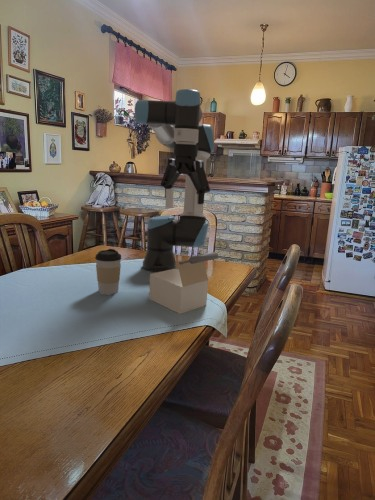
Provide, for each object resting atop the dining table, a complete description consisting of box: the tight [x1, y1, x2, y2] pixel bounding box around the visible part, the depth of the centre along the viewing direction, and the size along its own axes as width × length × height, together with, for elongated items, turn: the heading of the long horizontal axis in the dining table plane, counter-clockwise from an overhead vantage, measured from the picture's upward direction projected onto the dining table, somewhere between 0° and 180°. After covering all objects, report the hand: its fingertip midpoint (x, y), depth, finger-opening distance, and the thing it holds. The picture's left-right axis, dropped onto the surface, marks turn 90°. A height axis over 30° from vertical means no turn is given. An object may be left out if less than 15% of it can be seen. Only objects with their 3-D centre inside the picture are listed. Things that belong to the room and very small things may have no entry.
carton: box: [149, 268, 209, 315], centre depth 121 cm, size 12×17×9 cm
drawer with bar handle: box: [176, 251, 219, 287], centre depth 112 cm, size 11×8×8 cm
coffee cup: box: [94, 248, 122, 295], centre depth 127 cm, size 9×9×15 cm
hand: (183, 211), depth 117 cm, fingers open, 13 cm apart
